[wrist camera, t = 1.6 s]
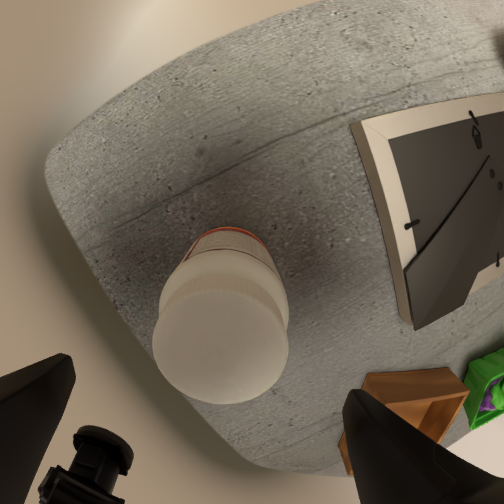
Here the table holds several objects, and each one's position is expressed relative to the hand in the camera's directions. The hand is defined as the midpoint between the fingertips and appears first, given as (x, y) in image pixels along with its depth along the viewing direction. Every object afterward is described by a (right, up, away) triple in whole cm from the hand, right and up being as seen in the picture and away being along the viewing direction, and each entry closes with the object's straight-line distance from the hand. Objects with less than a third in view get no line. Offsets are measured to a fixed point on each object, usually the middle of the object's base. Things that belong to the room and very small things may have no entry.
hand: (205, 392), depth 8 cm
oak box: (+16, -12, +18) cm, 27 cm away
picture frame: (+21, +10, +13) cm, 26 cm away
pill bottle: (0, +3, +13) cm, 14 cm away
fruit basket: (+29, -9, +18) cm, 35 cm away
